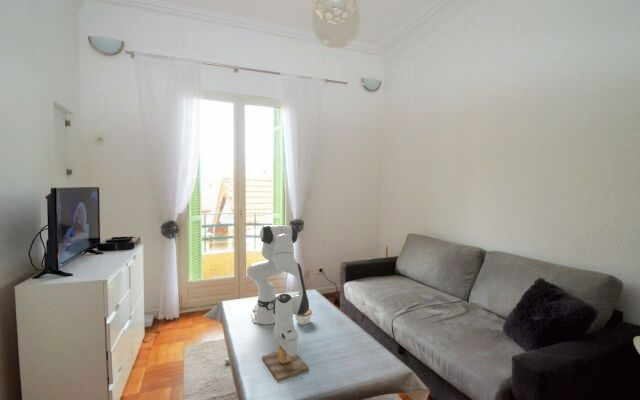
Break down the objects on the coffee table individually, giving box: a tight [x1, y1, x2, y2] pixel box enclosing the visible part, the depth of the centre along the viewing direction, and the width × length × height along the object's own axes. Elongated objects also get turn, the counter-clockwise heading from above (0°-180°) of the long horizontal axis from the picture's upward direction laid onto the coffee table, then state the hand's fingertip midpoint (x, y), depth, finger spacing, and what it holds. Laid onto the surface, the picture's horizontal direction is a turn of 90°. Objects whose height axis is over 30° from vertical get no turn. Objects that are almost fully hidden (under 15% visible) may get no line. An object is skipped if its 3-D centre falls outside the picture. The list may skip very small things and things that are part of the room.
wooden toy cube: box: [277, 346, 292, 364], centre depth 147 cm, size 5×5×6 cm
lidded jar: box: [294, 307, 313, 326], centre depth 190 cm, size 11×11×9 cm
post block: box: [261, 350, 310, 383], centre depth 147 cm, size 20×16×5 cm
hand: (284, 355), depth 147 cm, fingers closed on wooden toy cube, 5 cm apart
